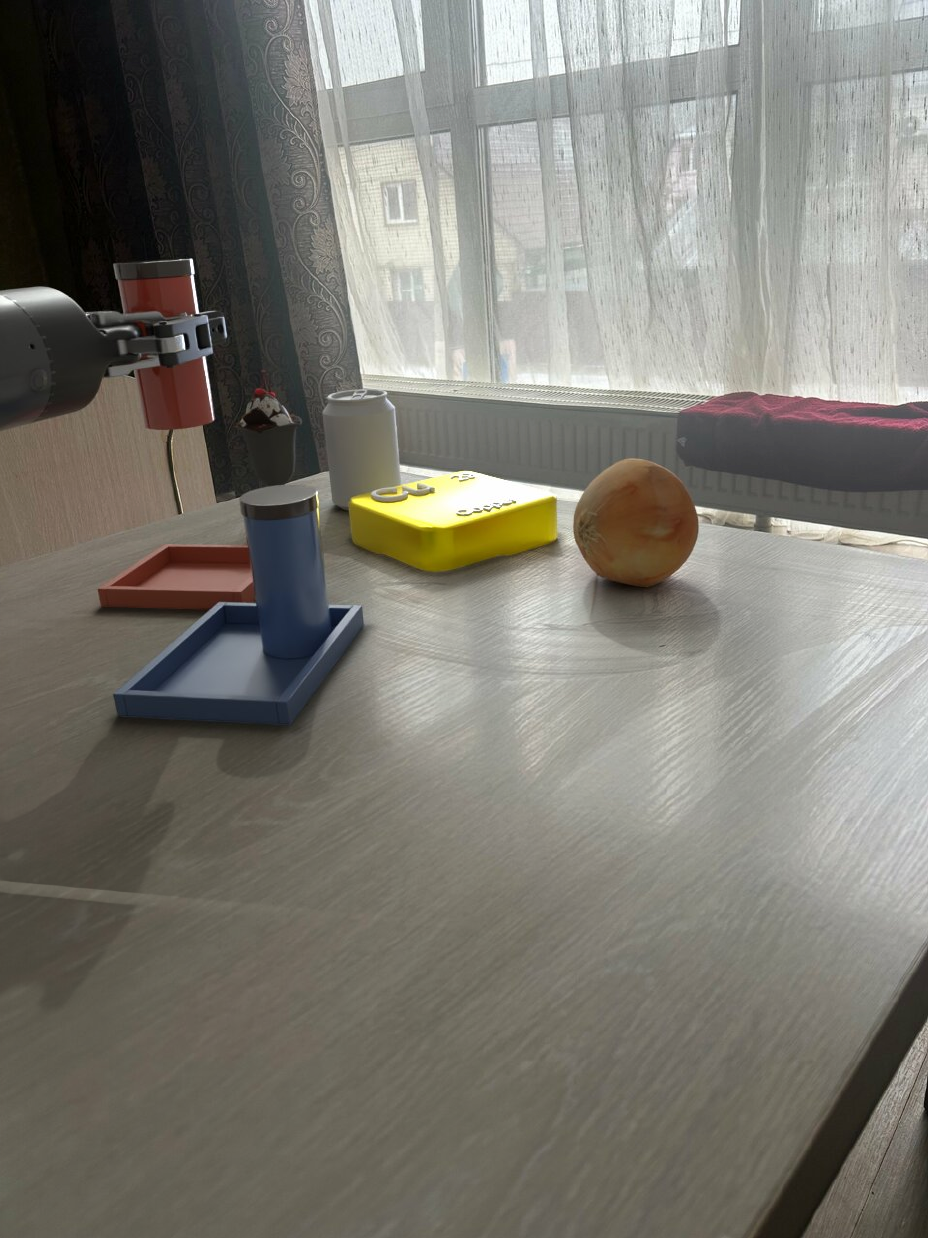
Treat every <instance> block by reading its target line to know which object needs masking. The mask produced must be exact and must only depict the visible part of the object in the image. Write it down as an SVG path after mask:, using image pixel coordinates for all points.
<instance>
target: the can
mask: <svg viewBox="0 0 928 1238" xmlns="http://www.w3.org/2000/svg"><path fill="white" fill-rule="evenodd" d="M388 394H389V393H388V392H387V391H386V390H383V389H374V388H373V389H368V388H367V389H364V388H363V389H349V390H342V391H337V392H334V393H330V394H329V395H328V396H326V399H327V401H328V403H327V404H326V406H325V407H324V409H323V410H322V412H321V413H322V422H323V430H324V440H325V448H326V458H327V466H328V468H327V469H328V475H329V485H330V494H331V501H332V503H333V504H335V505H336V506H337V507H338V508H340V509H342V510H344V511H348V512H349V505H348V502H349V501H350V499H351V498H352V497H354V496H358V495H362V494H366V493H371V492H373V491H374V490H377V489H381V488H392V487H396V486H401V485H402V477H401V465H400V453H399V441H398V428H397V427H398V426H397V416H396V415H397V414H396V406H395V405H394V404H393V403H392V402H391V401H390V400H389V399H388V398H387V396H388Z"/></svg>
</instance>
